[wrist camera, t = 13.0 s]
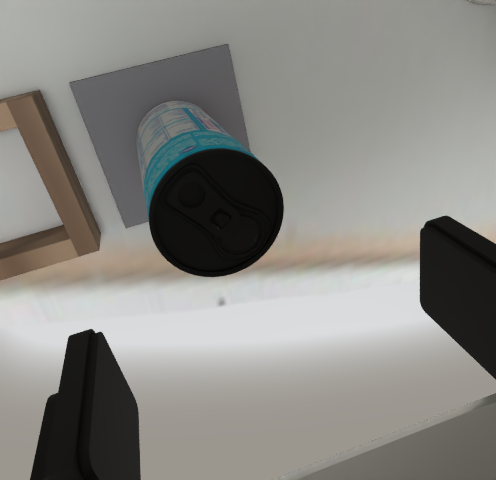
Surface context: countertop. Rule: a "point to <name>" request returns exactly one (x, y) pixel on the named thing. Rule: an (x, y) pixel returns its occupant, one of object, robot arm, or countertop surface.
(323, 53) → the countertop surface
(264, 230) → the beverage can
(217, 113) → the charcoal rubber mat
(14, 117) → the walnut socket block
